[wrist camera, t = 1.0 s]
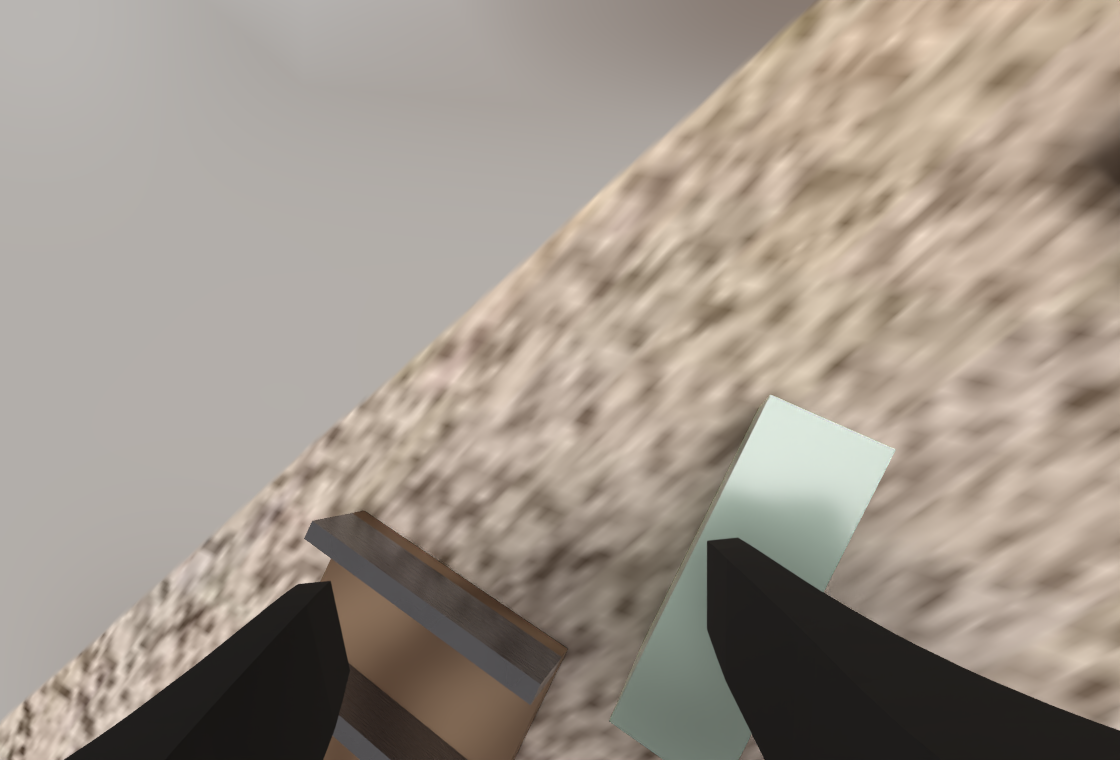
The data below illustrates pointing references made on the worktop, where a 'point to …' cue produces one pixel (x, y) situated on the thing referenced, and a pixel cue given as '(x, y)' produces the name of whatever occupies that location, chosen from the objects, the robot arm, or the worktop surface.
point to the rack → (426, 653)
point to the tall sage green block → (775, 530)
